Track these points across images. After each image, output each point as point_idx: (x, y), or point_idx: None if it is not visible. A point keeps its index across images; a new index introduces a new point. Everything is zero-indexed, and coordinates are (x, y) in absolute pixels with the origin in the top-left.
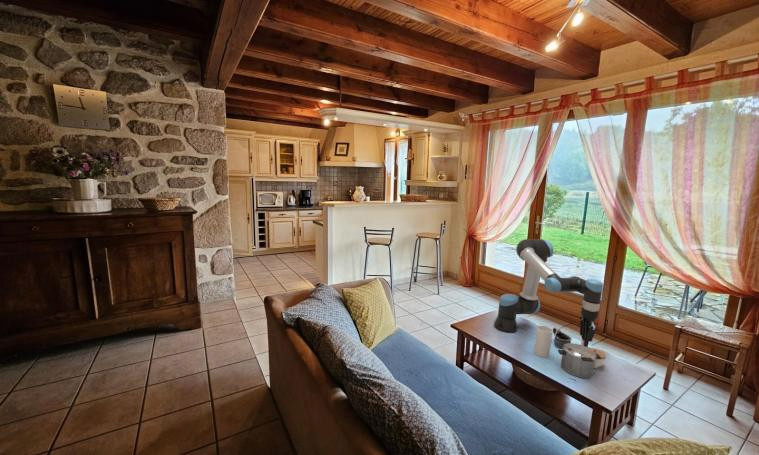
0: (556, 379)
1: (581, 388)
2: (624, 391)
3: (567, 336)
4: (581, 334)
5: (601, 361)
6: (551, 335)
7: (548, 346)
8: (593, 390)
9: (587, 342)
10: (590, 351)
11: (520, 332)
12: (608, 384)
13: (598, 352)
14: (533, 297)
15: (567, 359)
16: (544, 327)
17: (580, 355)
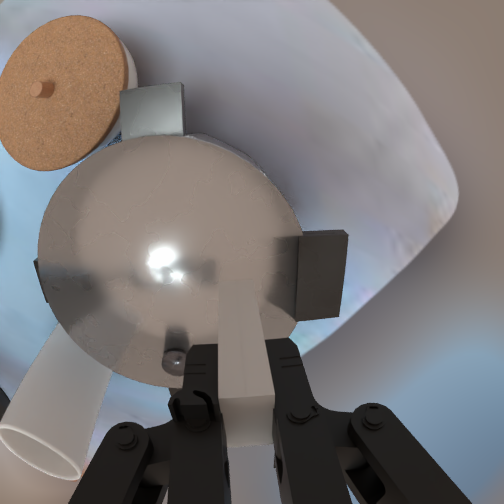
0: (308, 345)
1: (365, 263)
2: (354, 43)
3: None
4: (167, 479)
5: (130, 58)
6: (56, 421)
7: (90, 376)
8: (375, 210)
9: (307, 396)
10: (140, 178)
11: None
12: (306, 91)
13: (48, 61)
14: None
15: None
16: (5, 431)
17: (264, 313)
